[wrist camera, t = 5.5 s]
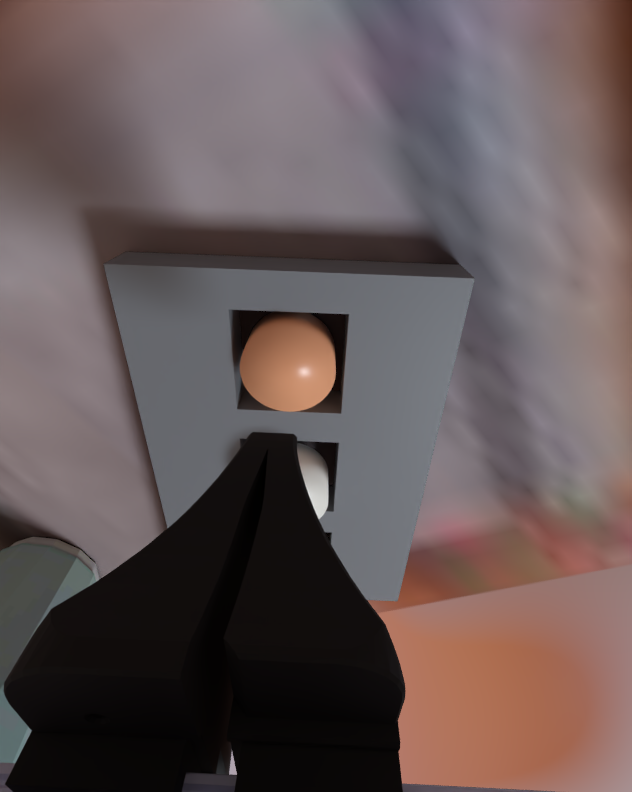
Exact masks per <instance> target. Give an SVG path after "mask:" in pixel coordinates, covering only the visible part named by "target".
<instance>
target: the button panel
mask: <svg viewBox="0 0 632 792" xmlns="http://www.w3.org/2000/svg"><path fill="white" fill-rule="evenodd" d="M104 268H105V273H106V277H107V281H108V285H109V289H110V293H111V297H112V301H113V306H114V310H115V314H116V318H117V322H118V326H119V330H120V334H121V339H122V343H123V347H124V351H125V355H126V359H127V363H128V367H129V372H130V376H131V380H132V384H133V388H134V392H135V396H136V400H137V404H138V409H139V413H140V417H141V421H142V425H143V429H144V433H145V437H146V442H147V446H148V450H149V454H150V458H151V462H152V466H153V470H154V475H155V479H156V483H157V487H158V491H159V495H160V499H161V503H162V508H163V512H164V516H165V520H166V524H167V528H169V527H170V526H171V525H172V524H173V523H174V522H175V521H176V520H178V519H179V518H180V517H181V516H182V515H183V514H184V513H185V512H186V511H187V510H188V509H189V508H190V507H191V506H192V505H193V504H194V503H195V502H196V501H197V500H198V499H199V498H200V497H201V496H202V495H203V493H204V492H205V491H206V490H207V489H208V488H209V487H210V486H211V485H212V484H213V482H214V481H215V480H216V479H217V478H218V477H219V475H220V474H221V473H222V472H223V470H224V469H225V468H226V467H227V465H228V464H229V463H230V462H231V460H232V459H233V458H234V456H235V455H236V453H237V452H238V451H239V449H240V448H241V446H242V445H243V444H244V442H245V441H246V439H247V437H248V436H249V435H250V434H251V433H252V432H264V433H287V434H294V435H295V436H296V437H297V441H312V442H336V455H335V469H334V482H333V485H328V507H327V510H326V511H325V513H324V515H323V516H322V517H321V518H320V519H319V521H320V523H321V525H322V527H323V529H324V532H330V536H329V541H330V543H331V545H332V547H333V549H334V550H335V552H336V554H337V555H338V557H339V559H340V560H341V562H342V564H343V565H344V567H345V569H346V570H347V572H348V573H349V575H350V577H351V578H352V580H353V581H354V583H355V584H356V585H357V587H358V588H359V590H360V591H361V593H362V594H363V596H364V597H365V598H366V600H382V601H398V597H399V593H400V589H401V584H402V580H403V576H404V572H405V568H406V564H407V559H408V555H409V551H410V547H411V543H412V539H413V534H414V530H415V526H416V522H417V518H418V513H419V509H420V505H421V501H422V497H423V493H424V488H425V484H426V480H427V476H428V472H429V467H430V463H431V459H432V455H433V451H434V447H435V442H436V438H437V434H438V430H439V426H440V422H441V417H442V413H443V409H444V405H445V401H446V396H447V392H448V388H449V384H450V380H451V376H452V371H453V367H454V363H455V359H456V355H457V350H458V346H459V342H460V338H461V334H462V330H463V325H464V321H465V317H466V313H467V309H468V305H469V300H470V296H471V292H472V288H473V284H474V279H475V278H474V277H473V276H472V275H471V274H469V273H468V272H467V271H466V270H465V269H464V268H463V267H462V266H461V265H455V264H429V263H404V262H378V261H352V260H326V259H301V258H275V257H249V256H224V255H198V254H172V253H146V252H124V253H123V254H121V255H119V256H117V257H115V258H113V259H112V260H110V261H108V262H106V263H104ZM239 310H255V311H280V312H305V313H330V314H346V320H345V334H344V347H343V361H342V374H341V388H340V391H330V392H329V394H328V395H327V396H326V397H325V398H324V399H323V400H322V401H321V402H320V403H318V404H317V405H315V406H313V407H311V408H308V409H305V410H301V411H295V412H286V411H279V410H275V409H272V408H269V407H267V406H265V405H263V404H261V403H260V402H259V401H257V400H256V399H255V398H254V397H253V396H252V395H251V394H250V393H249V392H248V391H247V389H246V387H245V386H244V384H243V381H242V378H241V374H240V360H241V356H242V342H241V328H240V314H239Z"/></svg>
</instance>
